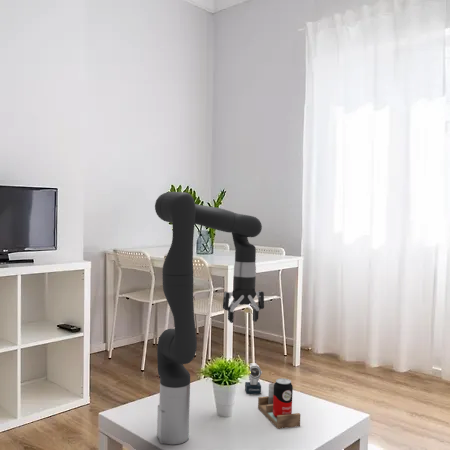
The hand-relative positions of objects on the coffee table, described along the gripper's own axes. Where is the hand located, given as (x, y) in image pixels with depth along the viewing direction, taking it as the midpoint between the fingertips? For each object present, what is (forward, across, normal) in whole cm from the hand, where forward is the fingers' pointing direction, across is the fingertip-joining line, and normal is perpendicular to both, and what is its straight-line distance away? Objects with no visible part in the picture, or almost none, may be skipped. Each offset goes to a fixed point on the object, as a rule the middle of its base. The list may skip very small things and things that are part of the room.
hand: (243, 321), depth 175 cm
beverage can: (+31, -12, +9) cm, 34 cm away
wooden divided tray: (+32, -12, +6) cm, 35 cm away
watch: (+32, -12, -18) cm, 39 cm away
